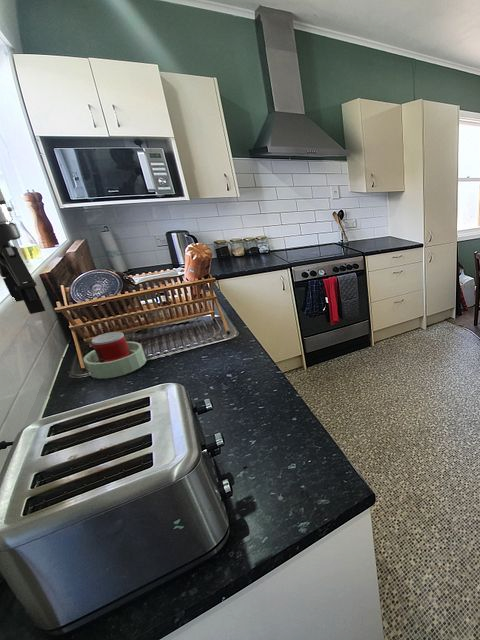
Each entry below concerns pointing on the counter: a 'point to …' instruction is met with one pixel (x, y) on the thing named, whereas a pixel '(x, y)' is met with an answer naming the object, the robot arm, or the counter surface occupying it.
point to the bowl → (115, 363)
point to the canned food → (111, 346)
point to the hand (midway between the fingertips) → (29, 306)
